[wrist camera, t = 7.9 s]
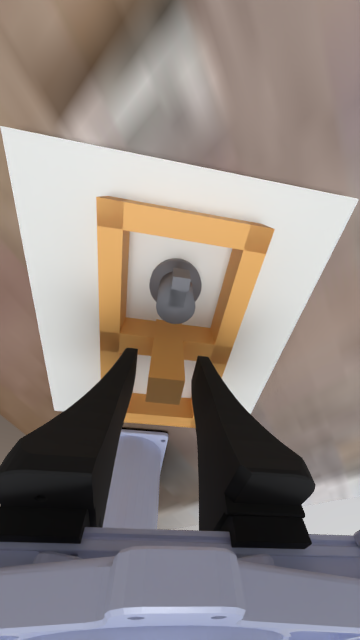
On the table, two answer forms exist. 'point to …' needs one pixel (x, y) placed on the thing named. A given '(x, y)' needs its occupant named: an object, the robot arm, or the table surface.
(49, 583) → the robot arm
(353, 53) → the table surface
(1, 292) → the table surface
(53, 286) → the board
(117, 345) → the orange link
